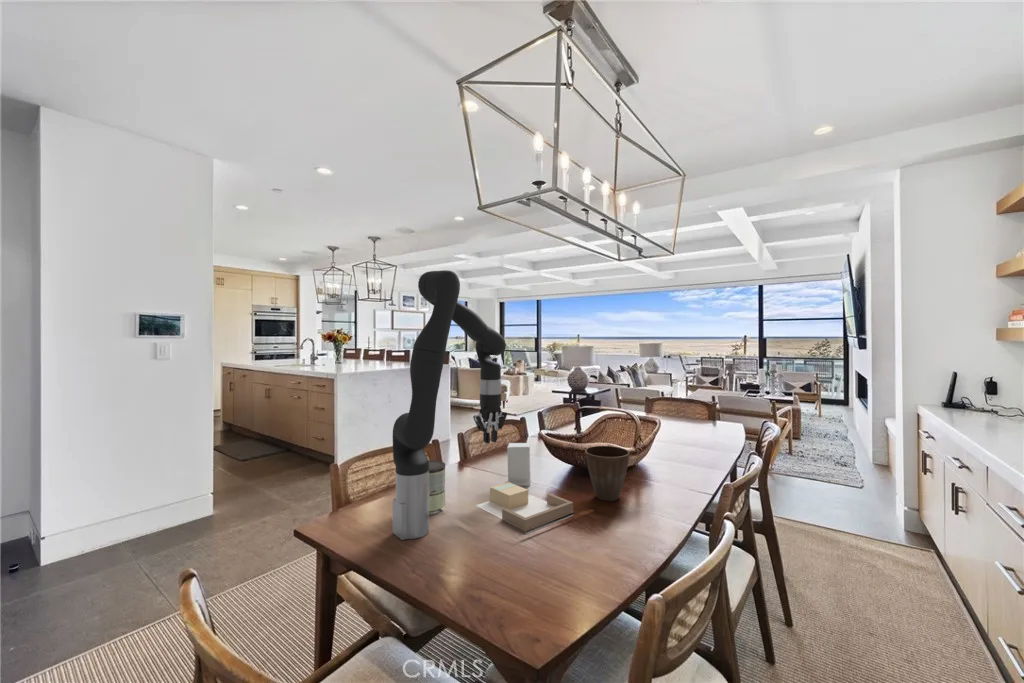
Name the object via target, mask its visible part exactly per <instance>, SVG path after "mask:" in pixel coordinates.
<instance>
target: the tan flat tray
mask: <svg viewBox="0 0 1024 683" xmlns="http://www.w3.org/2000/svg"><path fill="white" fill-rule="evenodd" d="M475 506H476V507H477V508H479V509H480V510H483V511H486V512H488V513H489V514H491V515H493V516H495V517H497V518H499V519H501V520H503V521H505V522H506V523H508V524H510V525H512V526H514V527H516V528H519V529H520V530H522V531H524V532H525V533H523V535H524V536H527V535H530V534H532V533H535V532H537V531H539V530H542V529H544V528H547V527H549V526H551V525H552V526H553V525H554V524H557V523H559V522H562V521H564V520H566V519H569V518H572V517H574V502H573V501H570V500H568V499H566V498H562V497H560V496H558V495H555V494H552V493H547V494H546V500H544V499H542V498H540V497H537V496H535V495H532V494H530V493H528V504H526V505H523V506H520V507H517V508H514V509H511V510H508V509H506V508H504V507H502V506H500V505H498V504H496V503H494V502H491V501H490V500H489V501H485V502H482V503H478V504H475ZM570 514H571V515H570ZM562 517H563V518H562ZM559 518H561V519H559ZM557 519H558V520H557ZM555 520H556V521H555ZM552 521H553V522H552ZM549 522H550V523H549ZM542 525H543V526H542ZM539 526H540V527H539ZM537 527H538V528H537ZM534 528H535V529H534ZM532 529H533V530H532ZM529 530H530V531H529ZM526 531H527V532H526Z"/></svg>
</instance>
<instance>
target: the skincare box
mask: <svg viewBox="0 0 1024 683" xmlns="http://www.w3.org/2000/svg"><path fill="white" fill-rule="evenodd" d="M506 448H507V449H506V452H507V482H510V483H512V484H515V485H517V486H520V487H530V486H531V482H532V481H531V449H530V448H531V445H530V442H508V445H507V447H506Z"/></svg>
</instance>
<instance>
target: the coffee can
mask: <svg viewBox="0 0 1024 683" xmlns="http://www.w3.org/2000/svg"><path fill="white" fill-rule="evenodd" d="M445 505H446V463H445V462H443V461H441V460H429V516H430V515H436V514H439V513H441V512H443V509H441V508H443V507H445Z"/></svg>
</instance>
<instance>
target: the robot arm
mask: <svg viewBox="0 0 1024 683" xmlns="http://www.w3.org/2000/svg"><path fill="white" fill-rule="evenodd" d="M417 288H418V291H419V294H420V296H421V297H422V298H423V299H424V300H425V301H427V302H428V303H429V304H431V305H432V306H433V307H432V308H433V309H432V313H431V315H430V318H429V319H428V321H427V323H426V324H425V326H424V327H423V329H422V330H421V331H420V332H419V335H418V336H417V337H416V339H415V341H414V344H413V348H412V352H411V356H410V357H411V358H410V363H409V374H410V383H411V401H410V405H409V412H405V413H402V414H401V415H399V417H397V419H395V421H394V424H393V427H392V458H393V462H394V466H395V497H394V498H393V499H392V534H394V535H395V536H396V537H397V538H398V539H400V540H401V541H404V540H414V539H418V538H422V537H424V536H426V535H427V534H428V533H429V531H430V515H429V461H430V460H429V458H428V457H427V455H426V452H425V447H427V446H428V445H429V444H430V442H431V440H432V439H433V435H434V432H435V422H436V421H435V420H436V410H437V399H438V395H439V394H438V393H439V388H440V384H441V377H442V372H443V367H444V363H445V357H446V352H447V351H446V350H447V344H448V340H449V335H450V330H451V325H452V321H453V322H454V323H455V324H456V325H457V326H458V327H460V329H461V330H462V331H463V332H464V333H465V334H466V335H467V337H469V338H470V339H471V340H472V341H473V342H476V343H475V351H476V356H477V360H478V363H479V368H480V382H479V406H480V410H479V411H478V412H479V413H477V415H473V416H472V418H473V420H474V423H475V425H476V427H477V430H478V431H479V432H480V431H481V432H483V436H482V437H483V438H482V439H483V442H484V443H485V444H487V445H488V444H490V443H491V442H492V443H496V442H497V440H498V431H499V430H502V429H503V426H504V424H505V421H506V418H507V416H508V412H505V411H502V408H501V406H502V375H501V373H502V372H501V370H502V369H501V364H500V363H499V362H496V361H493V359H492V356H501V355H503V354H504V353H505V351H506V350H507V349H506V348H507V344H506V340H505V338H504V337H503V336H502V334H501V333H499V332H498V331H497V330H495V329H494V328H493V327H491V326H488V325H487V323H486V321H484V320H483V319H482V318H481V316H480V315H479V314H478V313H477V312H476V311H474V310H473V309H471V308H469V307H468V306H466V305H464V304H463V303H461V301H458V299H459V295H460V290H461V284H460V278H459V276H458V274H457V273H456V272H455V271H453V270H449V269H448V270H446V269H445V270H431V271H426V272H424V273H422V274H421V275H420V277H419V279H418V284H417ZM490 429H491V430H490ZM490 441H491V442H490Z"/></svg>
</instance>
